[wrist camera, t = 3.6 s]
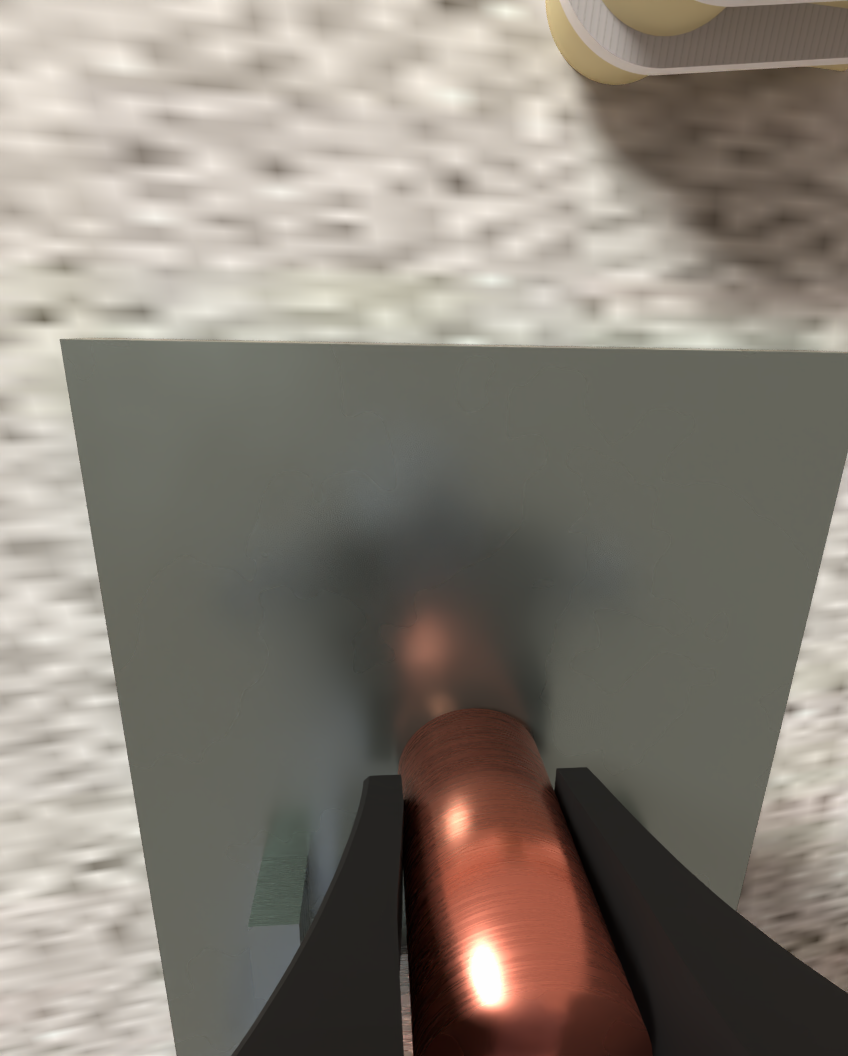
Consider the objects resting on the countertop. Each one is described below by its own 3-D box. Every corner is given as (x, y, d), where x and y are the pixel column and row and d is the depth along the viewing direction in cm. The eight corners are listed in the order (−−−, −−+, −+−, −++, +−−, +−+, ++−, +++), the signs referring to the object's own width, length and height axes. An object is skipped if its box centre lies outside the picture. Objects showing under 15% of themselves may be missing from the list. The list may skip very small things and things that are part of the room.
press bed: (669, 1059, 19) (799, 1381, 13) (203, 1097, 18) (122, 1466, 12) (824, 350, 12) (1227, 371, 6) (92, 337, 11) (-215, 349, 5)
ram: (582, 944, 15) (697, 1285, 9) (332, 960, 14) (308, 1328, 9) (615, 703, 12) (788, 973, 7) (322, 712, 12) (283, 1008, 7)
